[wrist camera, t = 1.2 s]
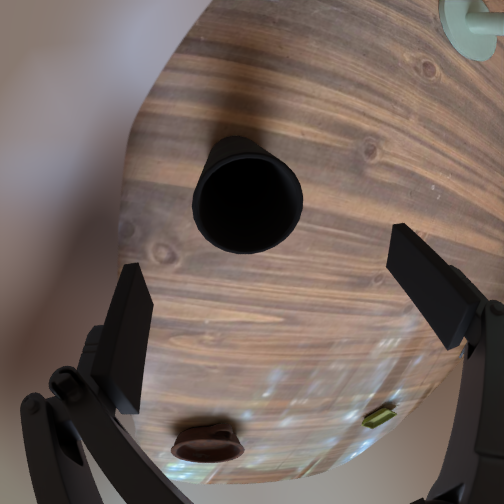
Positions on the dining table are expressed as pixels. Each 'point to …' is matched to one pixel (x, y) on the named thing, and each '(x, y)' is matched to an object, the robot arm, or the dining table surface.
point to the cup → (246, 198)
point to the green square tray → (378, 418)
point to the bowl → (471, 27)
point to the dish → (208, 444)
